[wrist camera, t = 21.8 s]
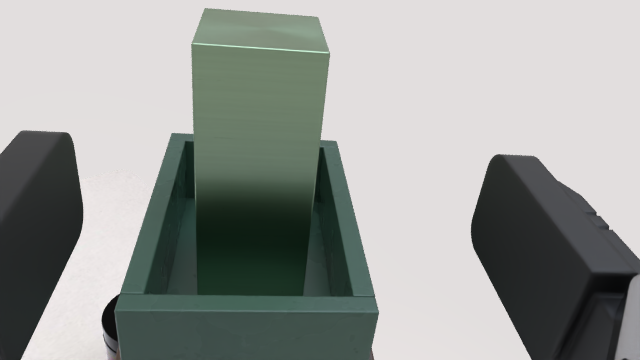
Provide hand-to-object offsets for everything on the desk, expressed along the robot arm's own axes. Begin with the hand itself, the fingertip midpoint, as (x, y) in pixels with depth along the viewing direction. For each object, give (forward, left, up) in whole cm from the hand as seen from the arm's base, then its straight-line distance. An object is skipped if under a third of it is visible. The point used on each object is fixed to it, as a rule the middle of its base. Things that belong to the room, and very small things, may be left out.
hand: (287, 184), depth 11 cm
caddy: (+1, -10, -11) cm, 15 cm away
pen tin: (+1, -10, -11) cm, 15 cm away
